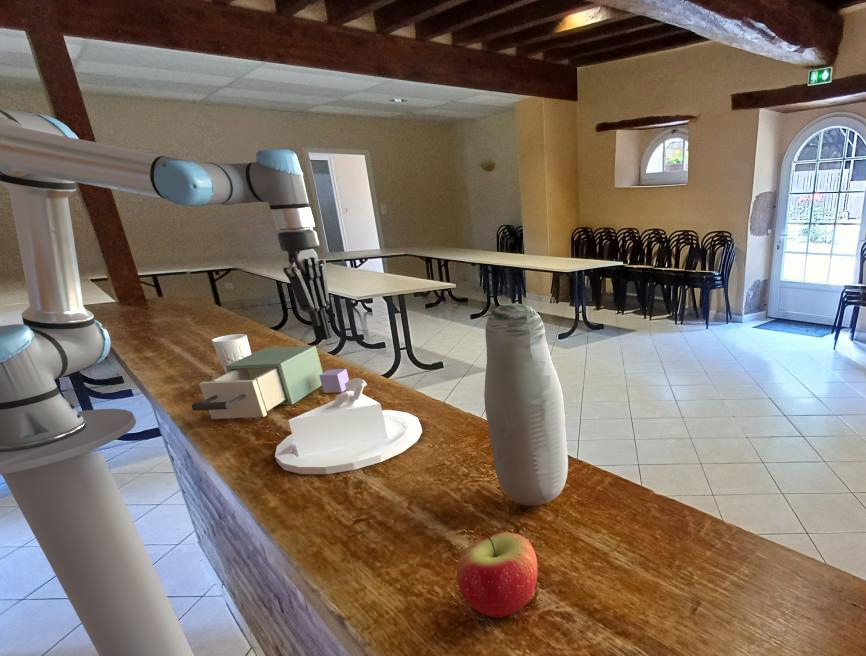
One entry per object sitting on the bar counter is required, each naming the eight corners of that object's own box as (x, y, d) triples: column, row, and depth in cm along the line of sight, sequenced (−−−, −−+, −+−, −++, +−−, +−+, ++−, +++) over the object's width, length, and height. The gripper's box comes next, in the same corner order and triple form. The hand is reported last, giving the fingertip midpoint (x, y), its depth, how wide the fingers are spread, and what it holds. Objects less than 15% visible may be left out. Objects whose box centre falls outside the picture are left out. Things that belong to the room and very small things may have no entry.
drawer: (244, 429, 109) (231, 392, 106) (189, 431, 109) (175, 394, 106) (299, 394, 127) (290, 361, 124) (252, 396, 128) (241, 363, 125)
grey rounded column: (584, 495, 80) (569, 301, 69) (528, 526, 73) (501, 317, 62) (541, 474, 86) (521, 294, 75) (486, 501, 80) (456, 308, 69)
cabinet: (292, 404, 123) (280, 363, 119) (238, 406, 124) (225, 365, 120) (325, 383, 137) (315, 345, 133) (277, 384, 137) (265, 347, 134)
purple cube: (323, 393, 129) (319, 375, 128) (333, 386, 134) (328, 369, 132) (341, 392, 129) (337, 374, 127) (350, 386, 133) (346, 368, 132)
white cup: (221, 374, 149) (209, 338, 145) (253, 367, 154) (243, 332, 150) (227, 380, 143) (214, 343, 139) (260, 373, 148) (249, 336, 144)
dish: (386, 407, 118) (375, 356, 114) (445, 437, 101) (435, 379, 97) (260, 446, 103) (241, 389, 98) (305, 490, 86) (285, 423, 82)
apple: (457, 637, 55) (441, 556, 52) (471, 582, 63) (457, 507, 59) (539, 630, 56) (529, 549, 52) (543, 576, 64) (534, 501, 60)
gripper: (297, 229, 124) (323, 332, 133) (259, 233, 111) (291, 347, 120) (329, 227, 123) (353, 330, 132) (295, 231, 111) (324, 345, 120)
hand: (324, 338), depth 126 cm, fingers closed
